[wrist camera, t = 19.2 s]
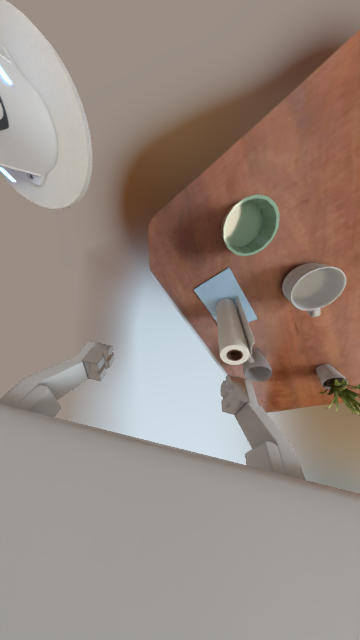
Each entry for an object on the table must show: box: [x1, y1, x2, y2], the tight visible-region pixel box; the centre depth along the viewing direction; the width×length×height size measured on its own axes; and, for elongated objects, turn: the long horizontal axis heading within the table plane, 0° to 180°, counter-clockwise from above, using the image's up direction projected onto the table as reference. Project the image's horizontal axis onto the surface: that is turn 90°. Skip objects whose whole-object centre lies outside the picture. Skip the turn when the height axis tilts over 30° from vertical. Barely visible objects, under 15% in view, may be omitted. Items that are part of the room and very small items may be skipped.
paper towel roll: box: [216, 296, 255, 365], centre depth 39 cm, size 7×6×21 cm
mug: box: [243, 349, 272, 382], centre depth 54 cm, size 12×9×10 cm
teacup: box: [282, 263, 346, 317], centre depth 38 cm, size 14×11×8 cm
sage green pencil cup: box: [221, 194, 280, 256], centre depth 32 cm, size 10×10×9 cm
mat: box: [194, 267, 257, 322], centre depth 48 cm, size 20×12×1 cm, turn 37°
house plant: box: [316, 364, 360, 415], centre depth 50 cm, size 14×14×16 cm
